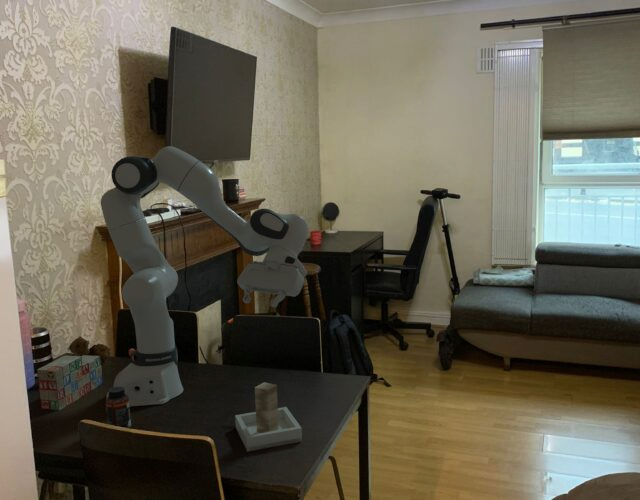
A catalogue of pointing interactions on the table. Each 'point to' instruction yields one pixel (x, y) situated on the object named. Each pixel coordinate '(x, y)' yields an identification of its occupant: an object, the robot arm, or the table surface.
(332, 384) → the table surface
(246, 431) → the tray
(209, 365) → the table surface
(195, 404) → the table surface
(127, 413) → the supplement bottle
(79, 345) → the stuffed squirrel
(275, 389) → the handle block
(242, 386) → the table surface
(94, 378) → the stack of blocks
